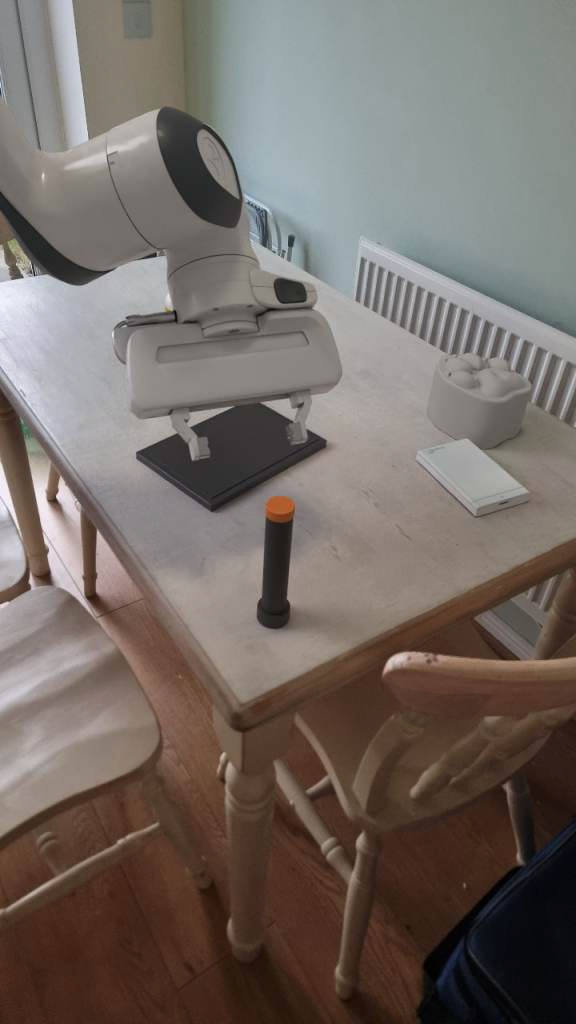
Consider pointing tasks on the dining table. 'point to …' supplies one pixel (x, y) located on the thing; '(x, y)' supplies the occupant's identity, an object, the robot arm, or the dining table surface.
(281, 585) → the black orange-capped cylinder
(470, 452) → the hard drive
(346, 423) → the dining table surface
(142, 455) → the tablet
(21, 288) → the dining table surface
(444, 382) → the lumpy-topped squat cylinder
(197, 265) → the robot arm
